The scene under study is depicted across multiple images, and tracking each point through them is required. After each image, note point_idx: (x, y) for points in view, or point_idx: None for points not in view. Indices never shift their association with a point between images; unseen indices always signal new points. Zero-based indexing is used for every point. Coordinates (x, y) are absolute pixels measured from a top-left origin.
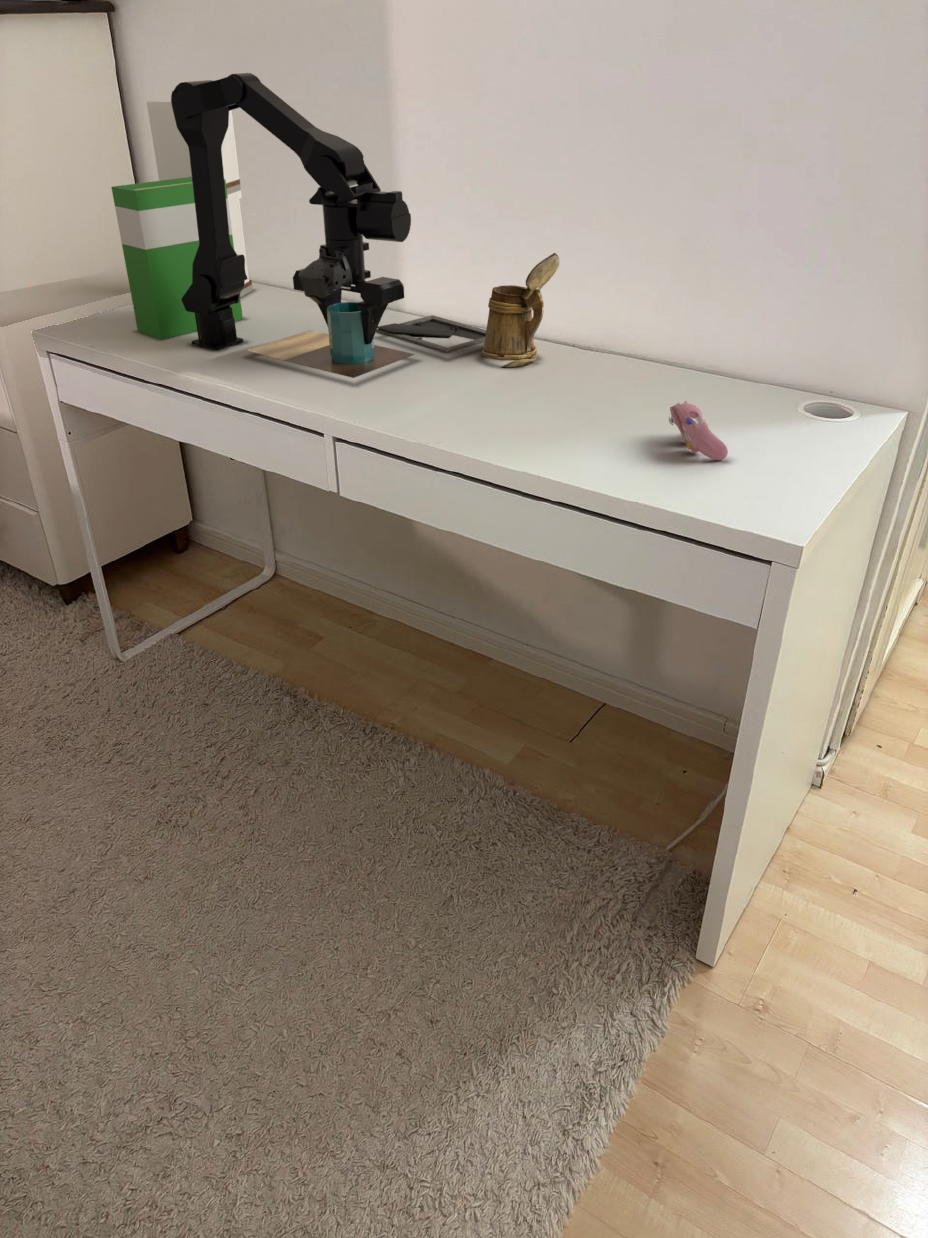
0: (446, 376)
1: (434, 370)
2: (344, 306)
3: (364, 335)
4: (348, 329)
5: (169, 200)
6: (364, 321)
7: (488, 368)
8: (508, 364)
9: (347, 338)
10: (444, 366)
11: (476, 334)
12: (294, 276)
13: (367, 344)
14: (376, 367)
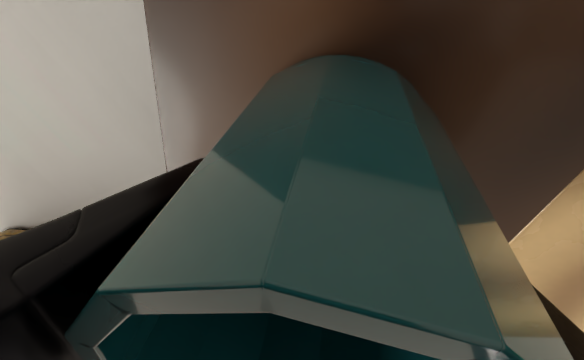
0: (24, 137)
1: (90, 171)
2: None
3: (185, 180)
4: (229, 150)
5: None
6: (78, 233)
7: (28, 216)
8: (2, 233)
9: (266, 113)
10: None
11: None
12: None
13: (203, 158)
14: (165, 69)
